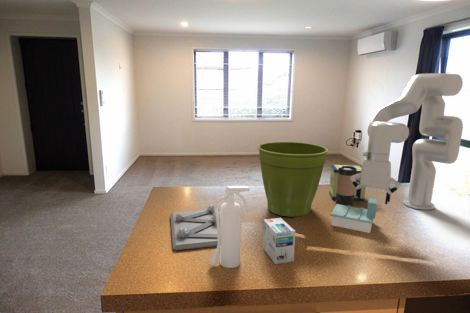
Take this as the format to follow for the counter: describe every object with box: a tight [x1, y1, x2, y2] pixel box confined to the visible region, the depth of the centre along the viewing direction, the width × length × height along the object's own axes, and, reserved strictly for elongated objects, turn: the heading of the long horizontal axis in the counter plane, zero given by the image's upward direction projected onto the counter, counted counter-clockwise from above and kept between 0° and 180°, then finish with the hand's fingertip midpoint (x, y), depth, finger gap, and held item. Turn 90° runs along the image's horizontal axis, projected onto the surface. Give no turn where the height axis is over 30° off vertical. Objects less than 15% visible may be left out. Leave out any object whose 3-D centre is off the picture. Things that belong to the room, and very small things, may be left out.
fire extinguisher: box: [208, 185, 250, 269], centre depth 93 cm, size 7×12×25 cm, turn 112°
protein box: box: [328, 164, 366, 202], centre depth 154 cm, size 10×16×16 cm
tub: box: [331, 216, 373, 234], centre depth 122 cm, size 11×14×5 cm
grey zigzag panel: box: [170, 203, 220, 251], centre depth 118 cm, size 30×22×7 cm
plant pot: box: [257, 141, 329, 218], centre depth 136 cm, size 30×30×29 cm
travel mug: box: [334, 166, 357, 207], centre depth 135 cm, size 8×8×20 cm
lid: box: [330, 198, 378, 225], centre depth 121 cm, size 12×16×7 cm
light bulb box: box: [262, 217, 296, 265], centre depth 100 cm, size 11×7×11 cm, turn 17°
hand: (372, 200), depth 117 cm, fingers open, 9 cm apart
